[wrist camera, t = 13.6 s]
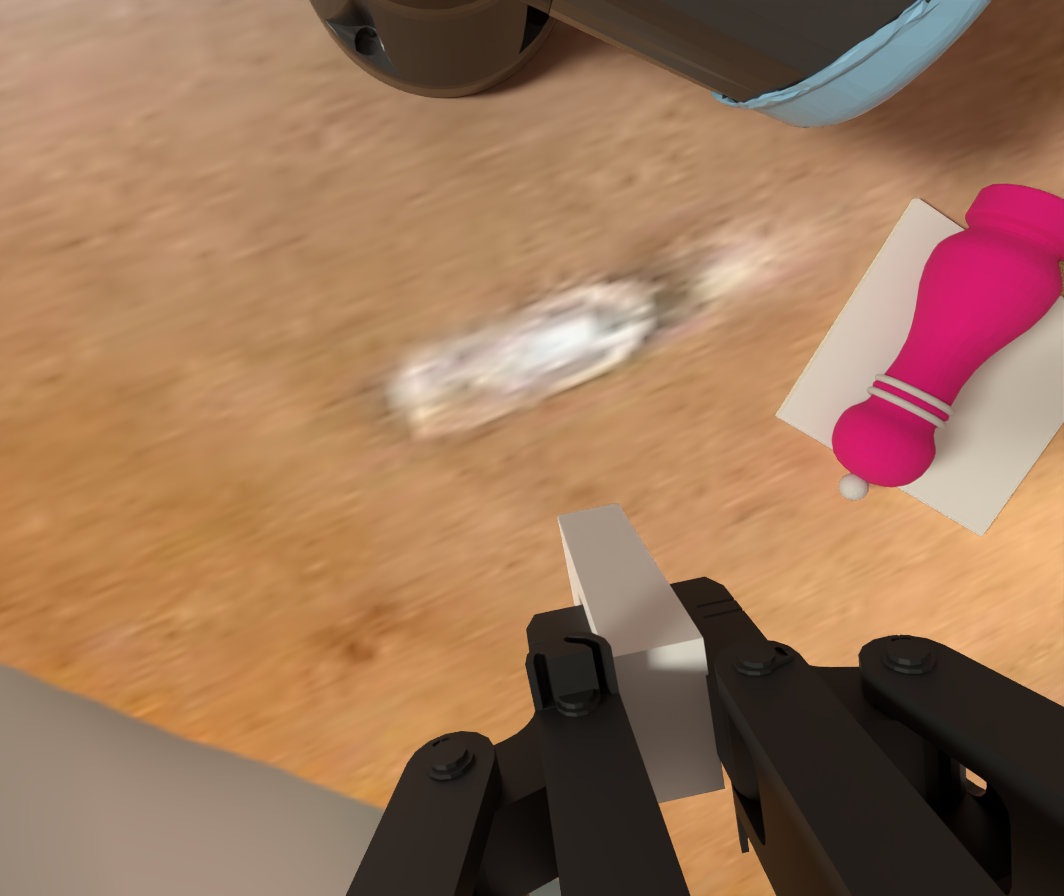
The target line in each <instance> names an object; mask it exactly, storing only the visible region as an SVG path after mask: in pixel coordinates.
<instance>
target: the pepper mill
mask: <svg viewBox="0 0 1064 896" xmlns="http://www.w3.org/2000/svg"><path fill="white" fill-rule="evenodd" d="M965 219H966V223H967V224H968V226H969V228H967V229H966V230H963V231H961V232H958V233H956V234H953V235H951V236H949V237H947V238H945V239H944V240H942V241H941V242H940V243H938V244H937V246H936V247H935V248H934V249H933V251H932V253H931V255H930V257H929V258H928V260H927V262H926V264H925V266H924V269H923V273H922V276H921V279H920V282H919V288H918V294H917V301H916V307H915V312H914V317H913V321H912V325H911V328H910V331H909V334H908V337H907V340H906V341H905V343H904V345H903V347H902V349H901V351H900V353H899V355H898V357H897V358H896V359H895V361H894V362H893V363H892V365H891V366H890V367H889V369H888V370H887V371H886V373H885V374H877V375H876V376H875V380H876V381H874V382H873V387H868V388H867V392H868V393H869V394H870V395H871V396H870V397H869V398H868V399H867V400H866V401H864V402H862V403H859V404H856V405H853V406H851V407H849V408H848V409H846V410H845V411H844V412H843V413H842V415H841V416H840V418H839V419H838V421H837V423H836V424H835V427H834V429H833V434H832V447H833V452H834V454H835V455H836V457H837V459H838V460H839V462H840V463H841V464H842V465H843V466H844V467H845V468H846V469H847V470H848V471H850V472H851V473H850V474H847V475H845V476H844V477H842V479H841V480H840V482H839V491H840V493H841V494H842V496H843V497H845V498H847V499H848V500H860V499H862V498H864V497H865V496H866V494H867V492H868V489H869V484H868V482H869V483H872V484H875V485H879V486H883V487H899V486H904V485H908V484H910V483H912V482H914V481H915V480H917V479H918V478H920V477H921V476H922V475H923V474H924V473H925V472H926V470H927V469H928V468H929V467H930V465H931V463H932V462H933V460H934V458H935V454H936V446H935V440H934V433H935V429H936V428H938V429H944V428H945V427H946V423H945V422H946V421H948V420H949V416H953V415H954V414H955V411H954V409H953V408H952V407H951V406H952V404H953V402H954V400H955V399H956V397H957V395H958V393H959V392H960V390H961V388H962V387H963V385H964V384H965V383H966V382H967V381H968V379H969V378H970V377H971V376H972V374H973V373H974V372H975V371H976V370H977V369H978V368H979V367H980V366H981V365H982V364H983V363H984V362H985V361H986V360H988V359H989V358H990V357H991V356H992V355H994V354H995V353H996V352H998V351H999V350H1000V349H1002V348H1003V347H1005V346H1006V345H1008V344H1009V343H1010V342H1012V341H1013V340H1015V339H1016V338H1018V337H1019V336H1020V335H1022V334H1023V333H1025V332H1026V331H1028V330H1029V329H1030V328H1031V327H1033V326H1034V325H1035V324H1036V323H1037V322H1038V321H1039V320H1040V319H1041V318H1042V317H1043V316H1044V315H1045V314H1046V313H1047V312H1048V311H1049V309H1050V308H1051V307H1052V306H1053V304H1054V303H1055V302H1056V301H1057V300H1058V298H1059V296H1060V294H1061V290H1062V277H1061V273H1060V268H1059V261H1064V199H1062V198H1060V197H1058V196H1055V195H1053V194H1050V193H1047V192H1045V191H1042V190H1038V189H1034V188H1030V187H1026V186H1022V185H1013V184H993V185H990V186H987V187H985V188H983V189H982V190H981V191H980V192H979V194H978V196H977V197H976V199H975V200H974V202H973V204H972V205H971V207H970V208H969V210H968V211H967V213H966V215H965Z"/></svg>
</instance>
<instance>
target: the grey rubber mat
mask: <svg viewBox="0 0 1064 896" xmlns="http://www.w3.org/2000/svg"><path fill="white" fill-rule="evenodd" d="M963 230H964V229H963V228H961V227H960V226H958V225H957V224H955V223H954V222H953V221H951V220H950V219H948V218H947V217H945V216H944V215H942V214H941V213H939V212H938V211H937V210H935V209H934V208H932V207H931V206H929V205H928V204H926V203H925V202H923V201H922V200H921V199H919V198H916V199H912V201H911V202H910V204H909V205H908V207H907V209H906V210H905V212H904V213H903V215H902V216H901V218H900V220H899V221H898V223H897V224H896V226H895V227H894V229H893V231H892V232H891V234H890V235H889V237H888V239H887V240H886V242H885V243H884V245H883V246H882V248H881V250H880V251H879V253H878V254H877V256H876V257H875V259H874V261H873V262H872V264H871V265H870V267H869V268H868V270H867V272H866V273H865V275H864V276H863V278H862V279H861V281H860V283H859V284H858V286H857V287H856V289H855V290H854V292H853V294H852V295H851V297H850V298H849V300H848V301H847V303H846V305H845V306H844V308H843V309H842V311H841V312H840V314H839V316H838V317H837V319H836V320H835V322H834V323H833V325H832V327H831V328H830V330H829V331H828V333H827V334H826V336H825V338H824V339H823V341H822V342H821V344H820V345H819V347H818V349H817V350H816V352H815V353H814V355H813V357H812V358H811V360H810V361H809V363H808V364H807V366H806V368H805V369H804V371H803V372H802V374H801V375H800V377H799V379H798V380H797V382H796V383H795V385H794V386H793V388H792V390H791V391H790V393H789V394H788V396H787V397H786V399H785V401H784V402H783V404H782V405H781V407H780V408H779V410H778V412H777V413H776V415H775V416H776V417H778V418H779V419H781V420H783V421H784V422H786V423H788V424H790V425H791V426H793V427H795V428H796V429H798V430H800V431H802V432H803V433H805V434H807V435H808V436H810V437H812V438H813V439H815V440H817V441H819V442H820V443H822V444H824V445H825V446H827V447H829V448H831V449H832V450H833V447H832V434H833V429H834V427H835V424H836V423H837V421H838V419H839V418H840V416H841V415H842V413H843V412H844V411H845V410H846V409H848V408H849V407H851V406H853V405H856V404H859V403H862V402H864V401H866V400H867V399H868V398H869V397H870V396H871V395H870V394H869V393H868V392H867V388H868V387H873V382H874V381H876V380H875V376H876V375H877V374H885V373H886V371H887V370H888V369H889V367H890V366H891V365H892V363H893V362H894V361H895V359H896V358H897V357H898V355H899V353H900V351H901V349H902V347H903V345H904V343H905V341H906V340H907V337H908V334H909V331H910V328H911V325H912V321H913V317H914V312H915V307H916V301H917V294H918V288H919V282H920V279H921V276H922V273H923V269H924V266H925V264H926V262H927V260H928V258H929V257H930V255H931V253H932V251H933V249H934V248H935V247H936V246H937V244H938V243H940V242H941V241H942V240H944V239H945V238H947V237H949V236H951V235H953V234H956V233H958V232H961V231H963ZM951 407H952V408H953V409H954V411H955V414H954V415H953V416H949V420H948V421H946V422H945V423H946V427H945V428H944V429H938V428H936V429H935V433H934V440H935V446H936V454H935V458H934V460H933V462H932V463H931V465H930V467H929V468H928V469H927V470H926V472H925V473H924V474H923V475H922V476H921V477H920V478H918V479H917V480H915V481H914V482H912V483H910V484H908V485H904V486H899V487H897V488H899V489H900V490H902V491H904V492H906V493H907V494H909V495H911V496H912V497H914V498H916V499H918V500H919V501H921V502H923V503H924V504H926V505H928V506H929V507H931V508H933V509H935V510H936V511H938V512H940V513H941V514H943V515H945V516H947V517H948V518H950V519H952V520H953V521H955V522H957V523H958V524H960V525H962V526H964V527H965V528H967V529H969V530H970V531H972V532H974V533H976V534H977V535H979V536H981V537H982V536H983V534H984V533H985V532H986V530H987V529H988V527H989V526H990V525H991V523H992V522H993V520H994V519H995V518H996V516H997V515H998V513H999V512H1000V511H1001V509H1002V508H1003V506H1004V505H1005V504H1006V502H1007V501H1008V499H1009V498H1010V497H1011V495H1012V494H1013V492H1014V491H1015V490H1016V488H1017V487H1018V485H1019V484H1020V483H1021V481H1022V480H1023V478H1024V477H1025V476H1026V474H1027V473H1028V471H1029V470H1030V469H1031V467H1032V466H1033V464H1034V463H1035V462H1036V460H1037V459H1038V457H1039V456H1040V455H1041V453H1042V452H1043V450H1044V449H1045V448H1046V446H1047V445H1048V444H1049V442H1050V441H1051V439H1052V438H1053V437H1054V435H1055V434H1056V432H1057V431H1058V430H1059V428H1060V427H1061V425H1062V424H1063V423H1064V298H1063V297H1062V296H1059V298H1058V300H1057V301H1056V302H1055V303H1054V304H1053V306H1052V307H1051V308H1050V309H1049V311H1048V312H1047V313H1046V314H1045V315H1044V316H1043V317H1042V318H1041V319H1040V320H1039V321H1038V322H1037V323H1036V324H1035V325H1034V326H1033V327H1031V328H1030V329H1029V330H1028V331H1026V332H1025V333H1023V334H1022V335H1020V336H1019V337H1018V338H1016V339H1015V340H1013V341H1012V342H1010V343H1009V344H1008V345H1006V346H1005V347H1003V348H1002V349H1000V350H999V351H998V352H996V353H995V354H994V355H992V356H991V357H990V358H989V359H988V360H986V361H985V362H984V363H983V364H982V365H981V366H980V367H979V368H978V369H977V370H976V371H975V372H974V373H973V374H972V376H971V377H970V378H969V379H968V381H967V382H966V383H965V384H964V385H963V387H962V388H961V390H960V392H959V393H958V395H957V397H956V399H955V400H954V402H953V404H952V406H951Z"/></svg>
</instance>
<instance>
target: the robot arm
mask: <svg viewBox="0 0 1064 896" xmlns="http://www.w3.org/2000/svg"><path fill="white" fill-rule="evenodd" d="M991 1H992V0H310V2H311V4H312V6H313V8H314V10H315V11H316V13H317V15H318V16H319V18H320V20H321V22H322V23H323V25H324V27H325V28H326V30H327V31H328V33H329V34H330V36H331V37H332V38H333V40H334V41H335V42H336V43H337V45H338V46H339V47H340V48H341V49H342V50H343V52H344V53H345V54H346V55H347V56H348V57H349V58H350V59H351V60H352V61H354V62H355V63H356V64H357V65H358V66H359V67H361V68H362V69H363V70H365V71H366V72H367V73H369V74H370V75H372V76H373V77H375V78H376V79H378V80H380V81H382V82H384V83H385V84H387V85H390V86H392V87H394V88H396V89H399V90H402V91H405V92H408V93H412V94H416V95H421V96H427V97H442V98H446V97H458V96H465V95H469V94H474V93H477V92H480V91H483V90H486V89H488V88H491V87H493V86H495V85H497V84H499V83H501V82H502V81H504V80H506V79H507V78H509V77H510V76H512V75H513V74H514V73H516V72H517V71H518V70H519V69H521V68H522V67H523V66H524V65H525V64H526V63H527V62H528V61H529V60H530V59H531V58H532V57H533V56H534V55H535V54H536V52H537V51H538V50H539V49H540V47H541V46H542V45H543V43H544V42H545V40H546V39H547V37H548V35H549V34H550V32H551V30H552V28H553V26H554V24H555V22H556V20H557V19H558V20H560V21H562V22H564V23H566V24H568V25H571V26H573V27H575V28H577V29H579V30H581V31H583V32H586V33H588V34H590V35H592V36H594V37H596V38H599V39H601V40H603V41H605V42H607V43H609V44H611V45H614V46H616V47H618V48H620V49H622V50H624V51H626V52H629V53H631V54H633V55H635V56H637V57H639V58H642V59H644V60H646V61H648V62H650V63H652V64H654V65H657V66H659V67H661V68H663V69H665V70H667V71H670V72H672V73H674V74H676V75H678V76H680V77H682V78H685V79H687V80H689V81H691V82H693V83H695V84H697V85H700V86H702V87H704V88H706V89H708V90H710V91H711V93H712V96H713V97H714V98H715V99H717V100H718V101H720V102H721V103H723V104H725V105H727V106H730V107H735V108H737V107H739V108H744V109H753V110H755V111H757V112H760V113H762V114H765V115H767V116H770V117H772V118H775V119H777V120H780V121H782V122H784V123H787V124H789V125H793V126H796V127H803V128H807V127H825V126H832V125H837V124H840V123H843V122H846V121H849V120H851V119H853V118H856V117H858V116H860V115H862V114H864V113H866V112H868V111H870V110H871V109H873V108H875V107H877V106H878V105H880V104H882V103H883V102H885V101H886V100H888V99H889V98H891V97H892V96H894V95H895V94H896V93H898V92H899V91H900V90H902V89H903V88H904V87H906V86H907V85H908V84H909V83H910V82H912V81H913V80H914V79H915V78H917V77H918V76H919V75H920V74H921V73H922V72H924V71H925V70H926V69H927V68H928V67H929V66H930V65H932V64H933V63H934V62H935V61H936V60H937V59H938V58H939V57H940V56H941V55H942V54H943V53H944V52H945V51H946V50H947V49H948V48H949V47H950V46H951V45H952V44H953V43H954V42H955V41H956V40H957V39H958V38H959V37H960V36H961V35H962V34H963V33H964V32H965V31H966V30H967V29H968V28H969V27H970V26H971V25H972V23H973V22H974V21H975V20H976V19H977V18H978V17H979V15H980V14H981V13H982V12H983V11H984V9H985V8H986V7H987V6H988V5H989V3H990V2H991ZM557 516H558V521H559V527H560V532H561V537H562V542H563V547H564V552H565V558H566V563H567V568H568V573H569V578H570V584H571V589H572V594H573V599H574V604H575V606H573V607H568V608H563V609H559V610H554V611H549V612H545V613H540V614H535V615H534V617H533V618H532V620H531V622H530V624H529V625H528V627H527V629H526V631H527V638H528V645H529V653H528V654H527V658H526V663H525V665H526V670H527V675H528V679H529V684H530V688H531V693H532V698H533V702H534V707H535V713H534V716H533V718H532V719H531V720H530V722H529V723H528V724H527V725H526V726H525V727H524V728H523V729H522V730H520V731H519V732H518V733H517V734H515V735H513V736H512V737H510V738H508V739H506V740H504V741H502V742H500V743H498V744H496V745H493V744H492V743H491V741H490V740H489V738H488V737H485V736H483V735H481V734H479V733H477V732H466V731H460V732H454V733H449V734H444V735H442V736H440V737H437V738H435V739H433V740H431V741H429V742H428V743H426V744H425V745H424V746H422V747H421V748H420V749H418V750H417V751H416V752H415V753H414V755H413V756H412V757H411V759H410V760H409V761H408V763H407V765H406V767H405V769H404V771H403V773H402V775H401V777H400V780H399V782H398V784H397V786H396V788H395V790H394V793H393V795H392V797H391V799H390V801H389V803H388V806H387V808H386V810H385V812H384V814H383V816H382V819H381V821H380V823H379V825H378V827H377V829H376V831H375V834H374V836H373V838H372V840H371V842H370V844H369V847H368V849H367V851H366V853H365V855H364V857H363V859H362V862H361V864H360V866H359V868H358V870H357V872H356V875H355V877H354V879H353V881H352V883H351V885H350V888H349V890H348V892H347V894H346V896H529V893H530V892H532V891H534V890H536V889H537V888H539V887H541V886H543V885H545V884H546V883H548V882H550V881H552V880H554V879H555V878H557V877H559V883H560V890H561V896H690V893H689V890H688V888H687V885H686V882H685V879H684V876H683V873H682V870H681V868H680V865H679V862H678V859H677V856H676V853H675V850H674V848H673V845H672V842H671V839H670V836H669V833H668V830H667V827H666V825H665V822H664V819H663V816H662V813H661V810H660V807H659V805H658V803H662V802H666V801H671V800H676V799H680V798H685V797H689V796H694V795H698V794H703V793H707V792H712V791H716V790H721V789H725V786H724V779H723V772H722V765H721V762H722V764H723V766H724V768H725V770H726V772H727V774H728V776H729V778H730V780H731V784H732V791H733V798H734V805H735V812H736V819H737V826H738V833H739V840H740V845H741V850H742V853H745V852H749V847H748V838H749V840H750V842H751V844H752V846H753V848H754V850H755V852H756V854H757V856H758V858H759V860H760V862H761V865H762V867H763V869H764V871H765V873H766V875H767V877H768V879H769V881H770V883H771V885H772V887H773V889H774V891H775V894H776V896H1064V707H1063V706H1061V705H1059V704H1057V703H1055V702H1053V701H1051V700H1049V699H1048V698H1046V697H1044V696H1042V695H1040V694H1038V693H1036V692H1034V691H1032V690H1030V689H1028V688H1026V687H1024V686H1022V685H1021V684H1019V683H1017V682H1015V681H1013V680H1011V679H1009V678H1007V677H1005V676H1003V675H1001V674H999V673H997V672H995V671H994V670H992V669H990V668H988V667H986V666H984V665H982V664H980V663H978V662H976V661H974V660H972V659H970V658H968V657H967V656H965V655H963V654H961V653H959V652H957V651H955V650H953V649H951V648H949V647H947V646H945V645H943V644H941V643H938V642H935V641H933V640H930V639H927V638H921V637H915V636H911V635H900V636H898V635H892V636H886V637H882V638H878V639H874V640H872V641H871V642H869V643H867V644H866V645H864V646H863V647H862V649H861V651H860V653H859V655H858V656H859V667H817V666H811V665H809V664H808V663H807V662H806V661H805V660H804V659H803V657H802V656H801V655H800V654H799V653H798V652H796V651H795V650H794V649H792V648H791V647H790V646H788V645H785V644H782V643H779V642H776V641H769V640H767V639H766V638H765V636H764V635H763V634H762V633H761V631H760V630H759V629H758V628H757V626H756V625H755V624H754V623H753V621H752V620H751V619H750V618H749V616H748V615H747V614H746V613H745V611H742V608H741V606H740V605H739V604H738V603H737V601H736V600H735V601H734V598H733V597H732V595H731V594H730V593H729V592H728V590H727V589H726V588H725V587H724V585H722V584H719V583H717V582H715V581H713V580H711V579H709V578H707V577H701V578H696V579H691V580H687V581H682V582H677V583H672V584H669V583H668V581H667V580H666V578H665V577H664V575H663V573H662V572H661V570H660V569H659V567H658V565H657V564H656V562H655V561H654V559H653V558H652V556H651V554H650V553H649V551H648V550H647V548H646V546H645V545H644V543H643V542H642V540H641V538H640V537H639V535H638V534H637V532H636V531H635V529H634V527H633V526H632V524H631V523H630V521H629V519H628V518H627V516H626V515H625V513H624V511H623V510H622V508H621V507H620V505H619V504H618V503H615V504H610V505H605V506H601V507H596V508H591V509H586V510H581V511H576V512H572V513H567V514H562V515H557ZM966 768H967V769H969V770H970V771H972V772H973V773H975V774H976V775H978V776H979V777H981V778H982V779H983V780H984V781H986V782H987V788H986V790H984V789H982V788H981V787H979V786H977V785H975V784H974V783H973V782H971V781H970V780H968V779H967V778H966Z"/></svg>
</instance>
